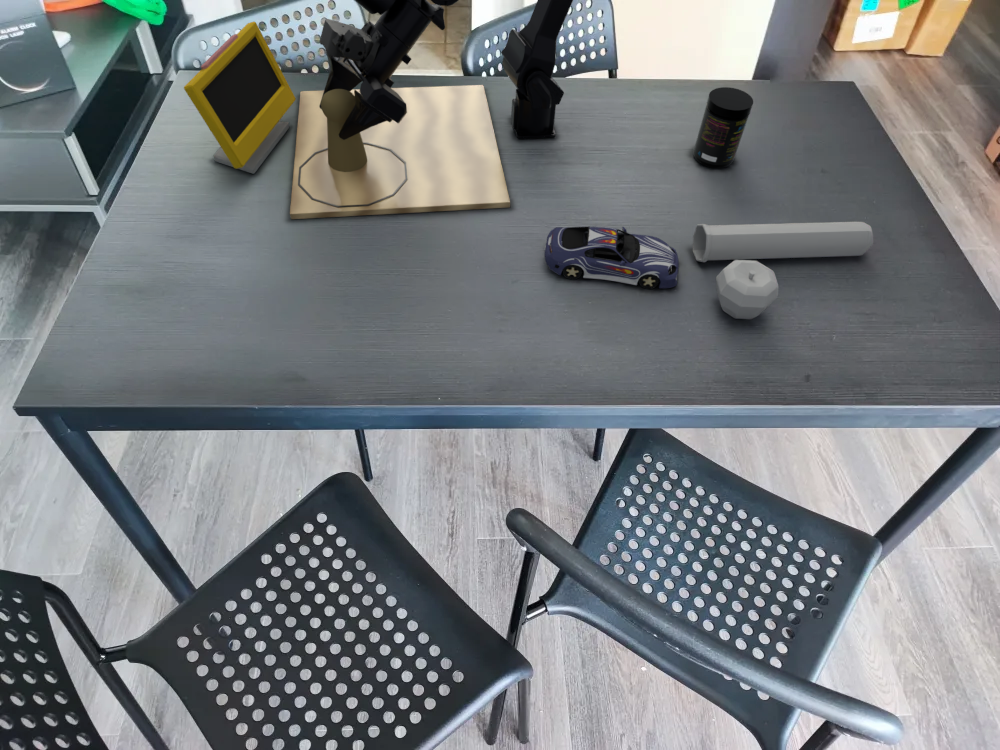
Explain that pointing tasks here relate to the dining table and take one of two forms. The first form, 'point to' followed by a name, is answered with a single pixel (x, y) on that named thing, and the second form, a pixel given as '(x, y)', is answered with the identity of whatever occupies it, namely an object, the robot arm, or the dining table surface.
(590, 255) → the toy car
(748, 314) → the apple
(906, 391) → the dining table surface
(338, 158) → the pepper shaker
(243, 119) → the toy computer monitor
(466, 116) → the sketch board
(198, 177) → the dining table surface
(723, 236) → the tube
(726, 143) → the supplement container
